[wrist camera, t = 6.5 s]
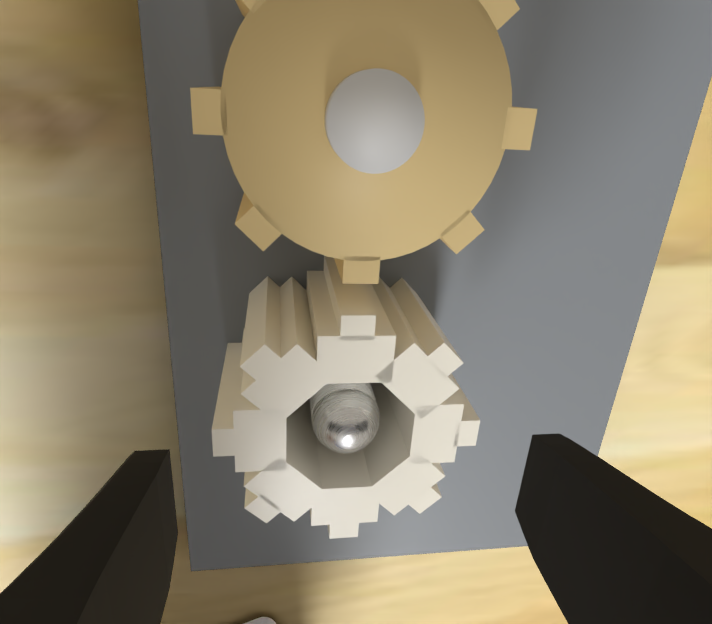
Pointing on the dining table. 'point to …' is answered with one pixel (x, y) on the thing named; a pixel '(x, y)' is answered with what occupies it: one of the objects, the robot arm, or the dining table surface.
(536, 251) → the gear board
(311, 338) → the gear
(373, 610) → the dining table surface
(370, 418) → the steel peg
